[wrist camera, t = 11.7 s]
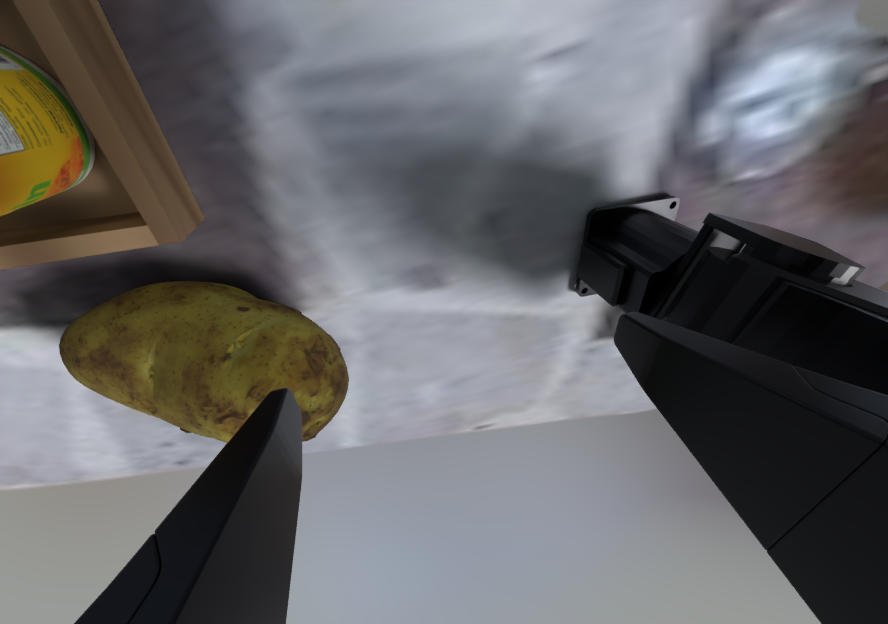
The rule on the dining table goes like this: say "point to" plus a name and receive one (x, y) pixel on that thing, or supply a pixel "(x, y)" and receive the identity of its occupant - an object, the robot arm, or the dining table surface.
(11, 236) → the open wooden box
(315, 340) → the potato
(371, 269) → the dining table surface
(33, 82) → the supplement bottle
